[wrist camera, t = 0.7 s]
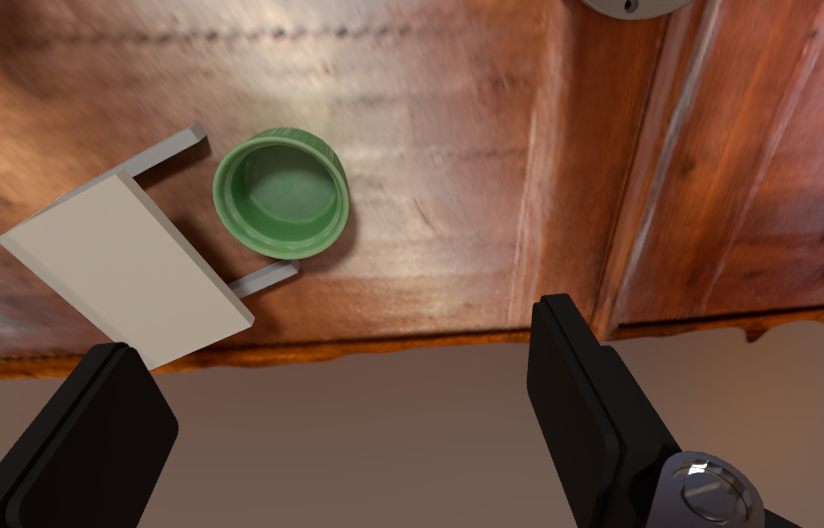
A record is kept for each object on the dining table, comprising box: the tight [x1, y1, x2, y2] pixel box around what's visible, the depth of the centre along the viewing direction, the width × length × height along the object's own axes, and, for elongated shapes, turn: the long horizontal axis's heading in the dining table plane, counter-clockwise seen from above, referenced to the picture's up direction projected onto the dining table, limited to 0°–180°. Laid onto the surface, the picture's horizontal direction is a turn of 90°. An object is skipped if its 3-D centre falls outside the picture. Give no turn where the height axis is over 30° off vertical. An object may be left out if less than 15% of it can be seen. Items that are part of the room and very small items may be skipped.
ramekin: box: [213, 128, 350, 260], centre depth 31 cm, size 9×9×4 cm
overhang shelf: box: [0, 122, 300, 370], centre depth 32 cm, size 12×13×6 cm
